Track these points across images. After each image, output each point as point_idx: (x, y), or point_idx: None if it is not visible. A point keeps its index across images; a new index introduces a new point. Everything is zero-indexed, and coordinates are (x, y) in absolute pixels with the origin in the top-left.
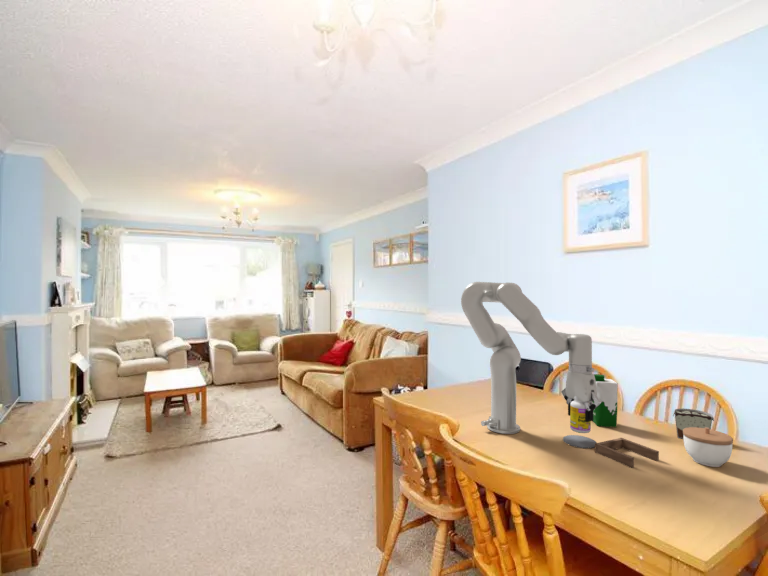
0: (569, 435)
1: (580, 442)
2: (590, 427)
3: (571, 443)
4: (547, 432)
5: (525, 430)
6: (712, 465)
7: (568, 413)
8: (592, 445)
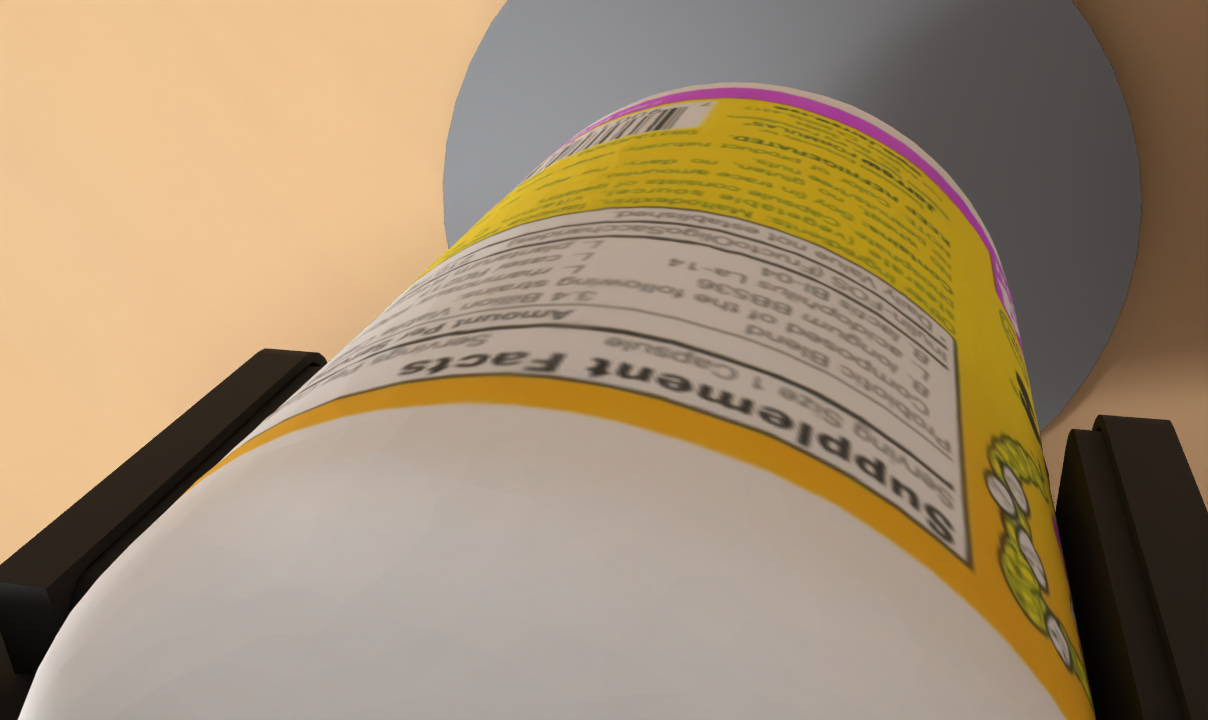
0: (457, 178)
1: None
2: (991, 259)
3: None
4: (162, 339)
5: None
6: None
7: None
8: (1099, 229)
